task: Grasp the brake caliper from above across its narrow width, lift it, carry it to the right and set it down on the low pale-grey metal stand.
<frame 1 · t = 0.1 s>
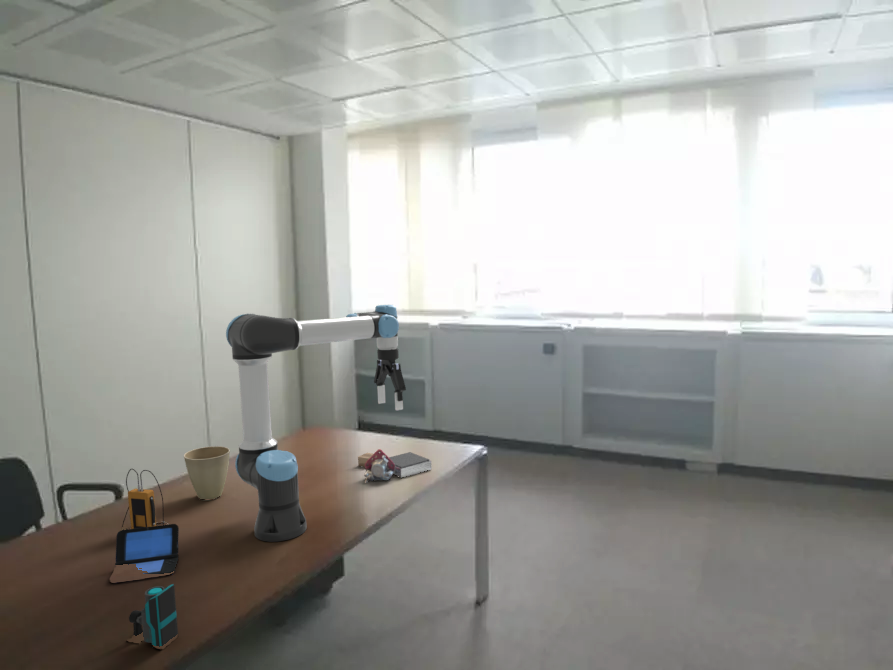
hand: (390, 406, 225), 28 cm above the table, tool pointing down, fingers open, 13 cm apart
surveillance camera: (151, 641, 134), on the table
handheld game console: (146, 570, 166), on the table
multimeter: (152, 527, 193), on the table
plant pot: (210, 497, 217), on the table
brake caliper: (380, 479, 231), on the table
bearing block: (368, 465, 247), on the table
stand: (406, 469, 240), on the table
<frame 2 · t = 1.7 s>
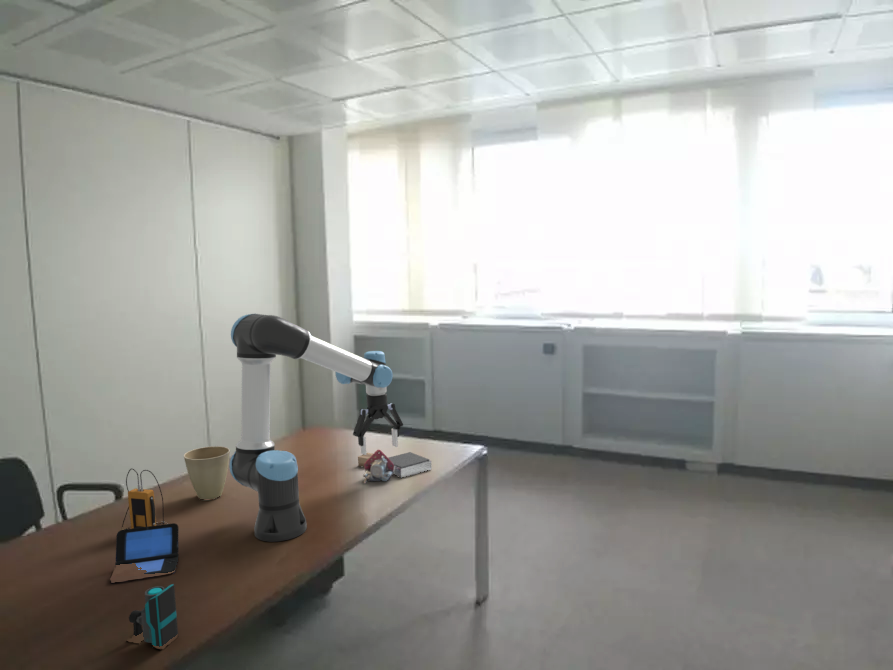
hand: (379, 450, 230), 11 cm above the table, tool pointing down, fingers open, 13 cm apart
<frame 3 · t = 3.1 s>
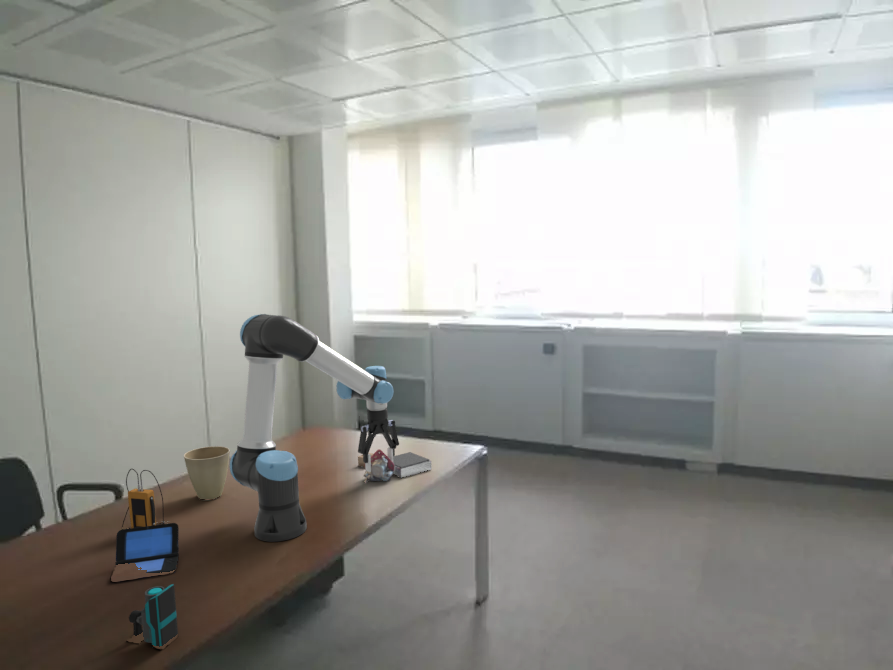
hand: (379, 468, 230), 4 cm above the table, tool pointing down, fingers closed on brake caliper, 9 cm apart
brake caliper: (379, 479, 230), on the table, touching gripper
everything else where it was.
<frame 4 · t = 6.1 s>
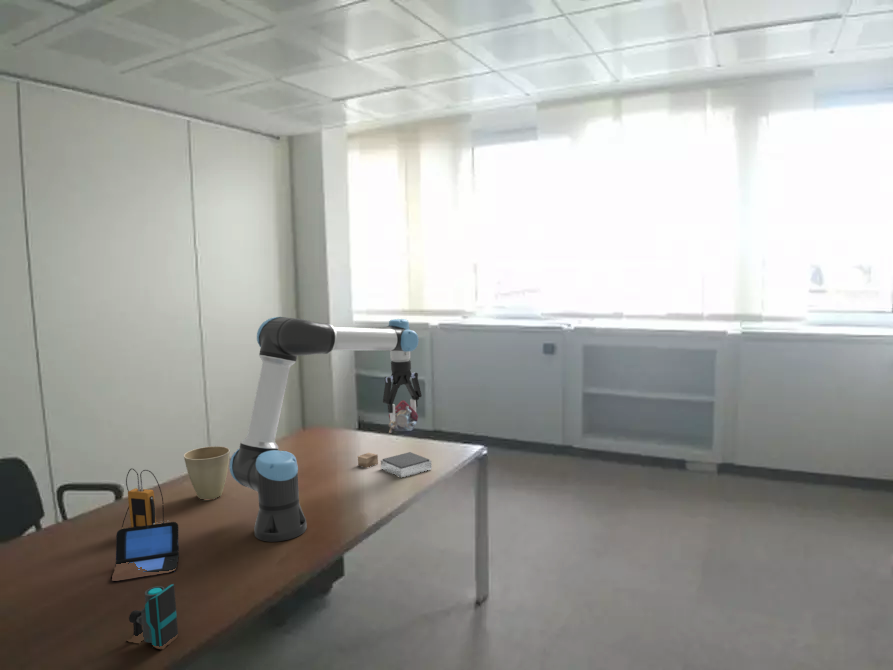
hand: (403, 418, 237), 20 cm above the table, tool pointing down, fingers closed on brake caliper, 9 cm apart
brake caliper: (403, 429, 238), point 16 cm above the table, touching gripper
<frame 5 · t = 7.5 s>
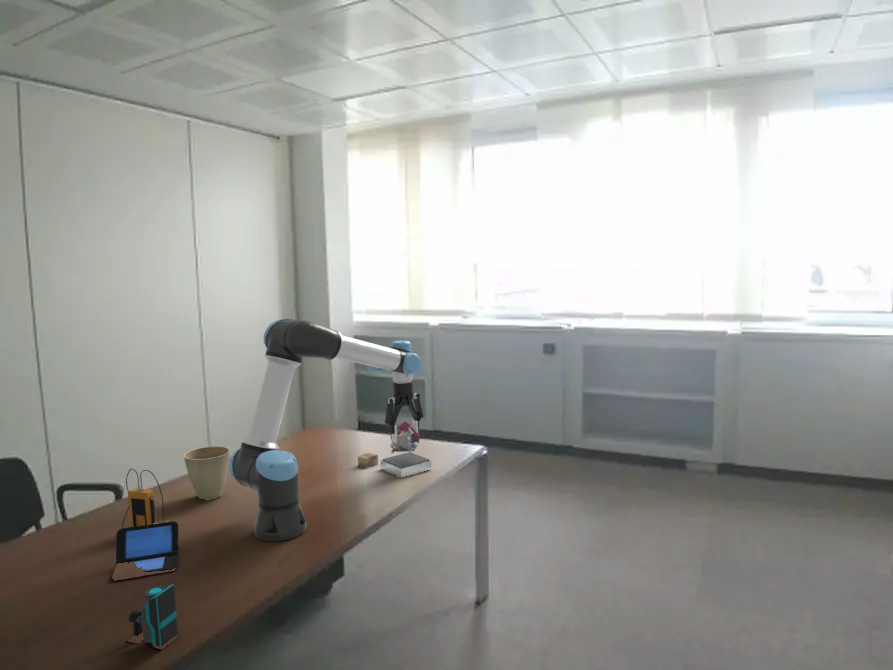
hand: (405, 439, 239), 12 cm above the table, tool pointing down, fingers closed on brake caliper, 9 cm apart
brake caliper: (405, 450, 239), point 8 cm above the table, touching gripper
when the fingers open (10 cm above the table, at t = 8.8 s): brake caliper drops 2 cm, resting on stand.
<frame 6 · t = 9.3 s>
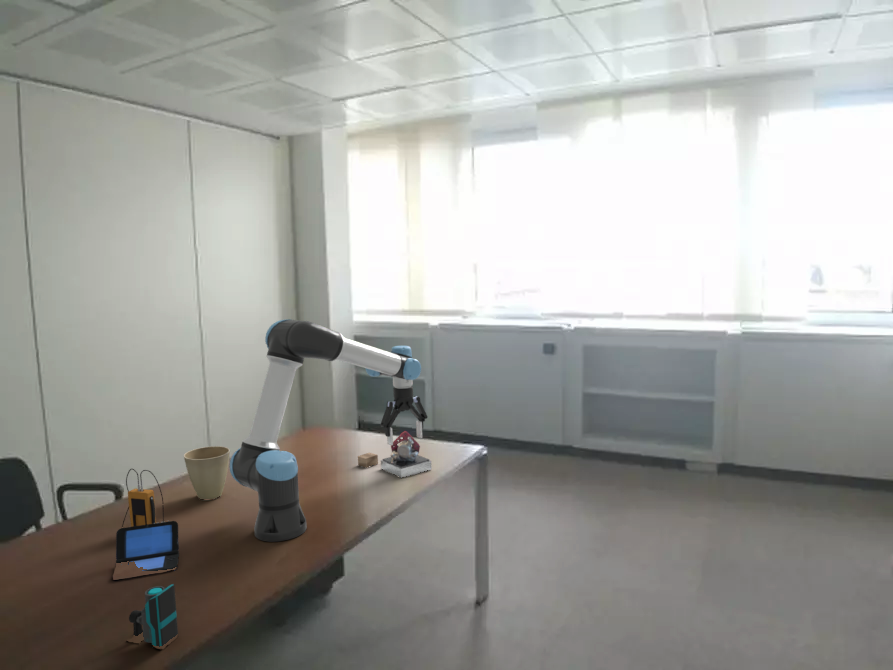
hand: (405, 441, 239), 11 cm above the table, tool pointing down, fingers open, 13 cm apart
brake caliper: (405, 460, 239), point 4 cm above the table, touching stand
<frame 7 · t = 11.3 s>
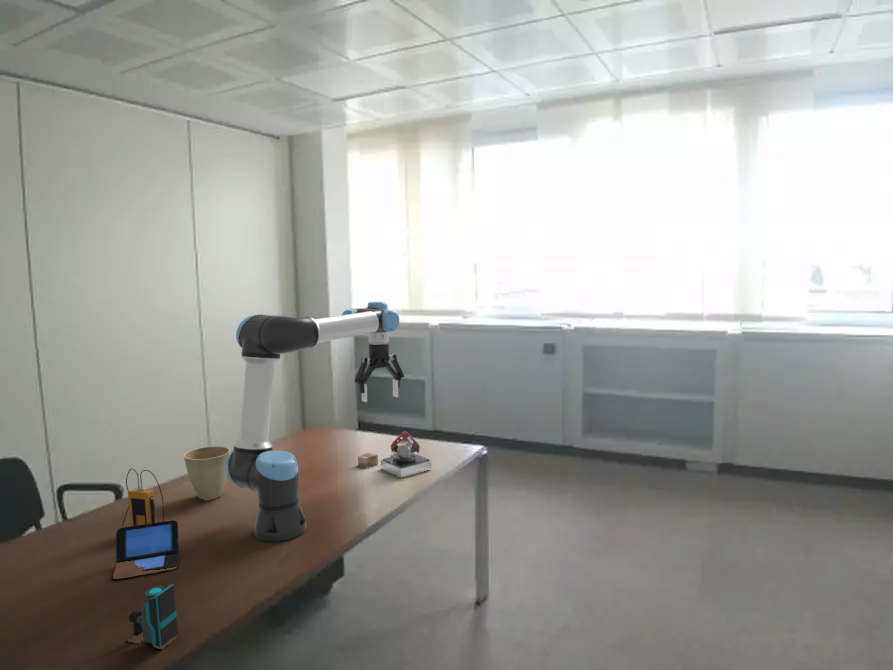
hand: (380, 399, 235), 28 cm above the table, tool pointing down, fingers open, 13 cm apart
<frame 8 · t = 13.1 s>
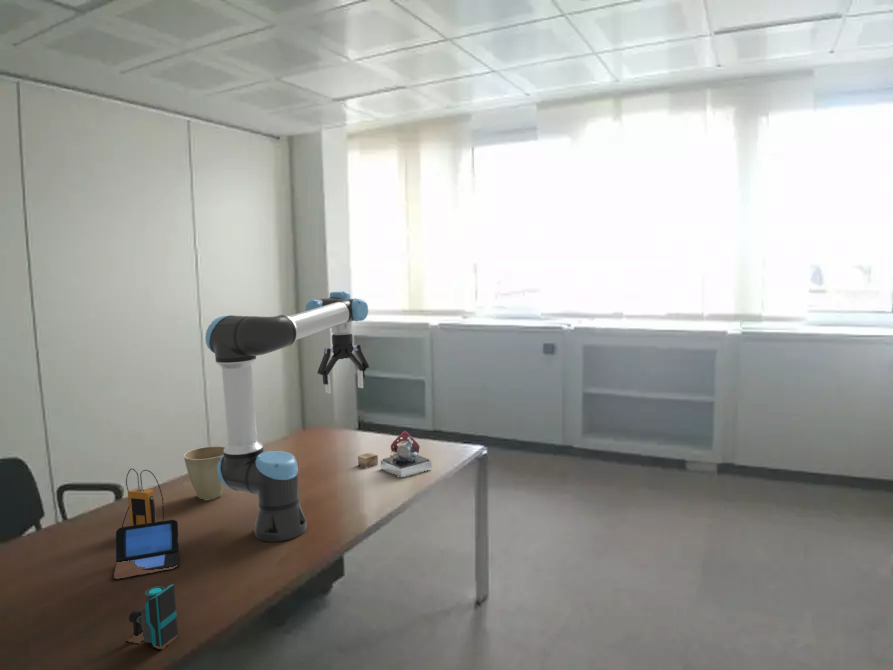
hand: (344, 390, 231), 33 cm above the table, tool pointing down, fingers open, 13 cm apart
at the end: brake caliper inside the target area on the stand (0.6 cm from its centre), point 3.8 cm above the stand's base; brake caliper touching stand; the gripper is holding nothing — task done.
